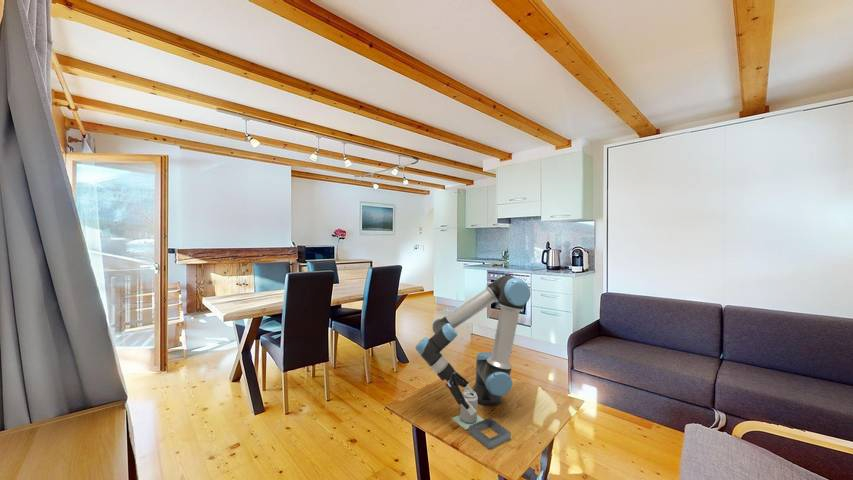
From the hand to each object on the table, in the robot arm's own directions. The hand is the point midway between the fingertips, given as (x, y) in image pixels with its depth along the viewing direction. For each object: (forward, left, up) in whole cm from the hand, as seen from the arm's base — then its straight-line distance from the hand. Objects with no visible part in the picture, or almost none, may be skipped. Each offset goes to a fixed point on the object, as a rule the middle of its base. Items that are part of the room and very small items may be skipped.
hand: (474, 405), depth 142 cm
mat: (+2, -2, -7) cm, 8 cm away
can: (+2, -2, -7) cm, 7 cm away
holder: (+2, +11, -7) cm, 14 cm away
